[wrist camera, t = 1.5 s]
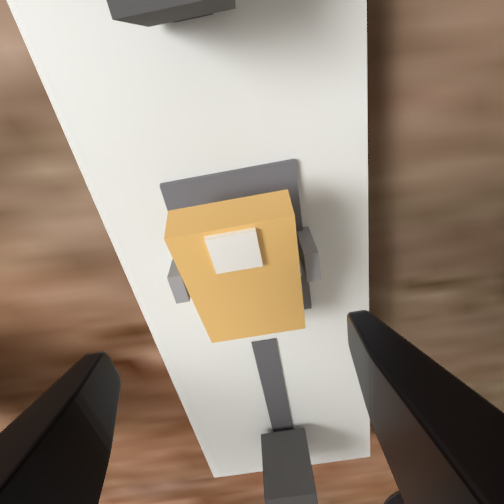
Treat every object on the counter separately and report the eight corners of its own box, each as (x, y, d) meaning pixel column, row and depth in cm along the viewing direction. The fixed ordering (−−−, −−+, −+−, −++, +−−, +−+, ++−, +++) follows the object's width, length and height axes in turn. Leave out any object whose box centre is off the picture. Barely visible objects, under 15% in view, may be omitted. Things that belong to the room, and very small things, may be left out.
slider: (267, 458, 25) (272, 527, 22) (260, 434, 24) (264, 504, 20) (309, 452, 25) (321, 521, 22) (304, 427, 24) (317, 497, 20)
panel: (215, 451, 29) (212, 513, 25) (-31, -160, 11) (-167, -263, 8) (362, 431, 28) (381, 491, 24) (343, -254, 11) (403, -420, 7)
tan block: (210, 316, 18) (209, 347, 17) (165, 211, 13) (160, 243, 12) (301, 301, 18) (308, 331, 17) (290, 188, 13) (299, 218, 12)
